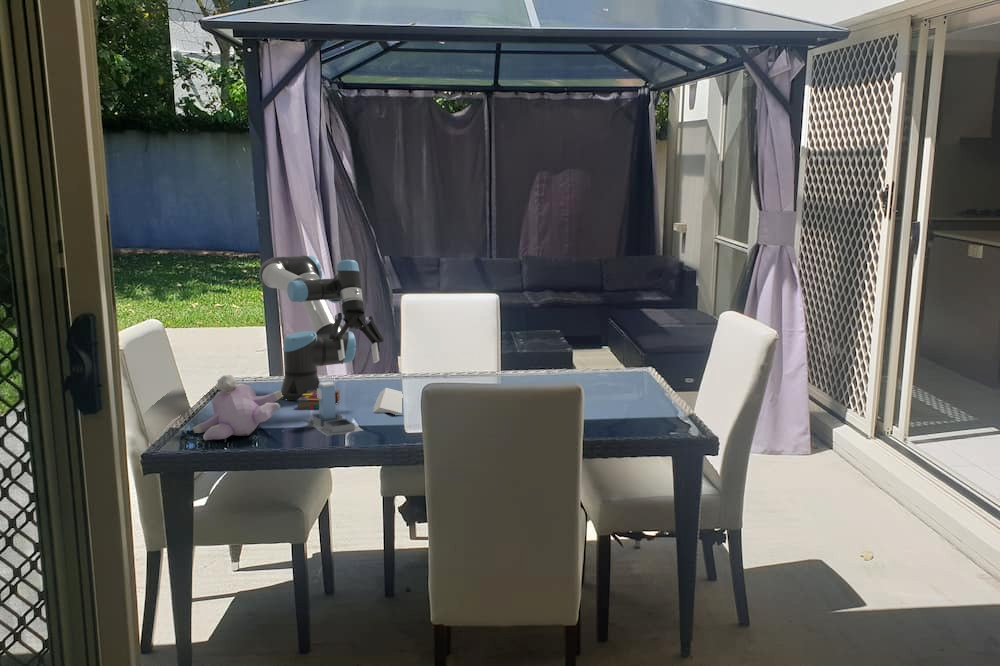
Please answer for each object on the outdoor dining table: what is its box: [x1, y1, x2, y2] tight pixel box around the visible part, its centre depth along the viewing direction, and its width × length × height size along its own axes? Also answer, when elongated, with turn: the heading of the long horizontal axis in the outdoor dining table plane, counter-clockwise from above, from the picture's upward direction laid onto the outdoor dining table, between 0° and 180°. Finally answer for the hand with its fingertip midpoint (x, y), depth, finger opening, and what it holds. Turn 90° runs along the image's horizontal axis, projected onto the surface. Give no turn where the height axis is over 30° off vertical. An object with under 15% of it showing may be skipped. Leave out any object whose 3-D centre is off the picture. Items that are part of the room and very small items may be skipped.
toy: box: [191, 374, 283, 441], centre depth 272 cm, size 29×17×30 cm
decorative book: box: [296, 390, 340, 410], centre depth 302 cm, size 11×16×5 cm
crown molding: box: [372, 387, 403, 415], centre depth 305 cm, size 29×12×4 cm, turn 4°
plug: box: [317, 381, 337, 419], centre depth 278 cm, size 4×5×13 cm
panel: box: [304, 412, 364, 437], centre depth 275 cm, size 20×12×3 cm, turn 32°
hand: (359, 360), depth 296 cm, fingers open, 13 cm apart
